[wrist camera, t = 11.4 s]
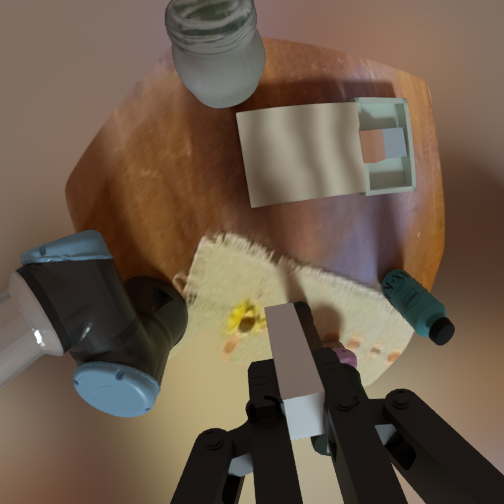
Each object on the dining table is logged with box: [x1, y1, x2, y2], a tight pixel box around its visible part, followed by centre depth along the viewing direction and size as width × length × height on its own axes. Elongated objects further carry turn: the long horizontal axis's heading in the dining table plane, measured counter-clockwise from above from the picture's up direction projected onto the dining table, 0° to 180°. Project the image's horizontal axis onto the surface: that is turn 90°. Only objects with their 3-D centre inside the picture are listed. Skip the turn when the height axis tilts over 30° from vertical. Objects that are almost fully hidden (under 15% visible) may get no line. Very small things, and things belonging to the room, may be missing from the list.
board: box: [236, 102, 367, 208], centre depth 43 cm, size 18×14×5 cm
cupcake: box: [322, 340, 357, 368], centre depth 54 cm, size 9×9×10 cm
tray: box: [347, 97, 416, 196], centre depth 44 cm, size 10×16×4 cm, turn 9°
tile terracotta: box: [360, 129, 386, 163], centre depth 41 cm, size 5×5×2 cm
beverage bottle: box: [382, 269, 455, 345], centre depth 45 cm, size 6×7×20 cm
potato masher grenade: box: [294, 302, 368, 456], centre depth 40 cm, size 8×9×30 cm
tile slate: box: [382, 127, 407, 159], centre depth 44 cm, size 5×5×2 cm
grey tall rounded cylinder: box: [165, 0, 266, 108], centre depth 28 cm, size 10×10×28 cm
